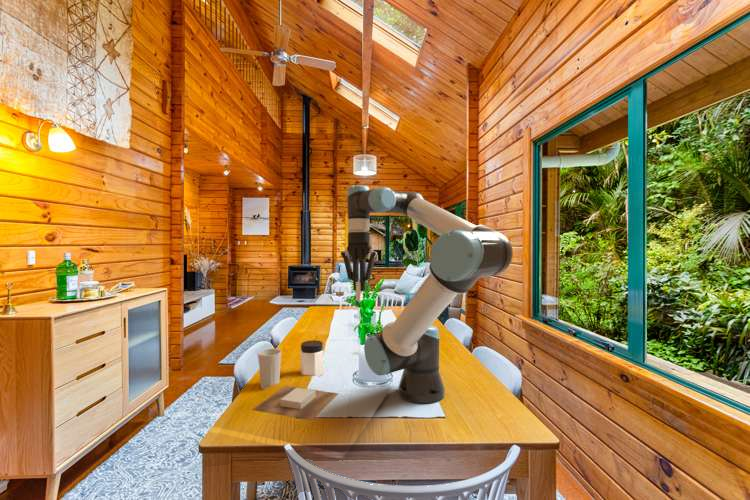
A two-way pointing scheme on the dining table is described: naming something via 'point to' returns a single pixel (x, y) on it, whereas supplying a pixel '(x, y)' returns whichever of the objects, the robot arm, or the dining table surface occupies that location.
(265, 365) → the cup
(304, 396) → the tile
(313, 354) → the jar
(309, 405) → the board
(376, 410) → the dining table surface
